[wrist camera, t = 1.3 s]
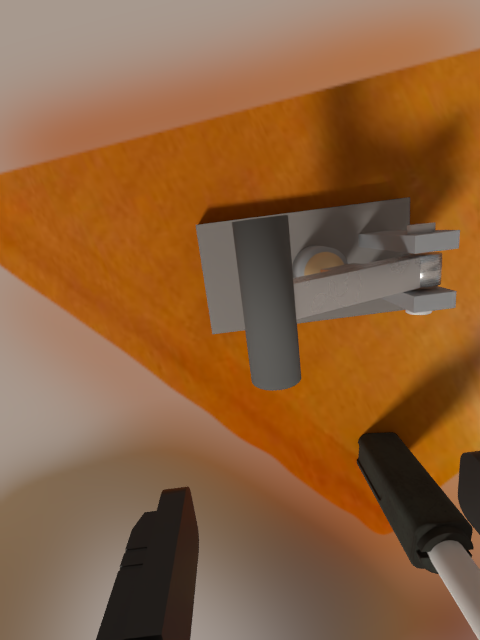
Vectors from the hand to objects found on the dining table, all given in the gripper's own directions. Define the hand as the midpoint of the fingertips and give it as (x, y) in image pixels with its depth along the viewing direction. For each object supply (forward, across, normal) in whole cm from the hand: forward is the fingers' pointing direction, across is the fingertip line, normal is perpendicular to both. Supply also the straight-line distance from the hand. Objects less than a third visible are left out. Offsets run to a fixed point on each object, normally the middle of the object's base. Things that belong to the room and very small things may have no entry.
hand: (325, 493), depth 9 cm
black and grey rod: (+26, -13, +21) cm, 36 cm away
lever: (+16, -5, -3) cm, 17 cm away
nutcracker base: (+26, -5, -3) cm, 27 cm away
